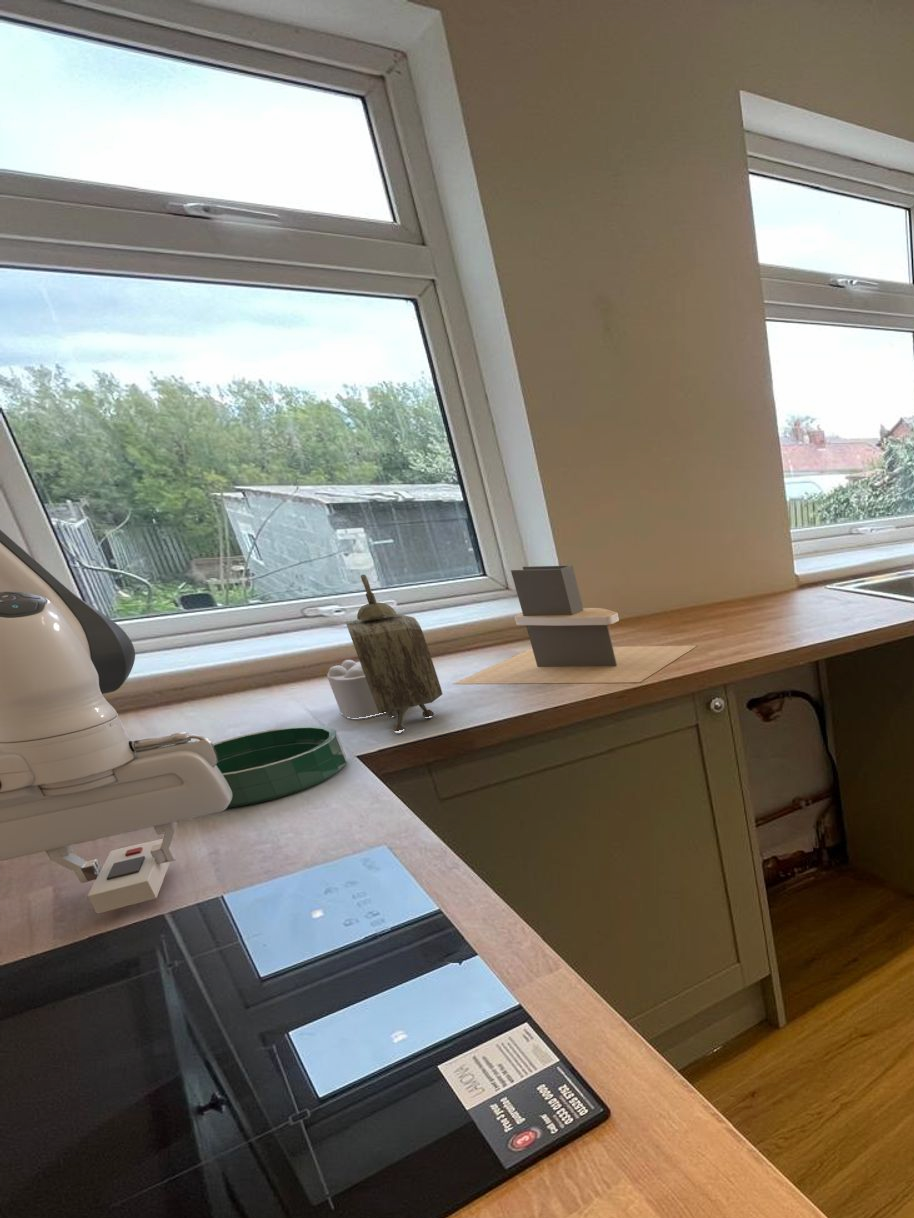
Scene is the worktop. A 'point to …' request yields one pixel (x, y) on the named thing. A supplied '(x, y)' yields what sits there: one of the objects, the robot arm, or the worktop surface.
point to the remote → (128, 878)
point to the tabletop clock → (393, 659)
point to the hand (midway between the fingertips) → (130, 869)
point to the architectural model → (569, 638)
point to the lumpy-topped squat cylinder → (352, 690)
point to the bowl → (278, 762)
